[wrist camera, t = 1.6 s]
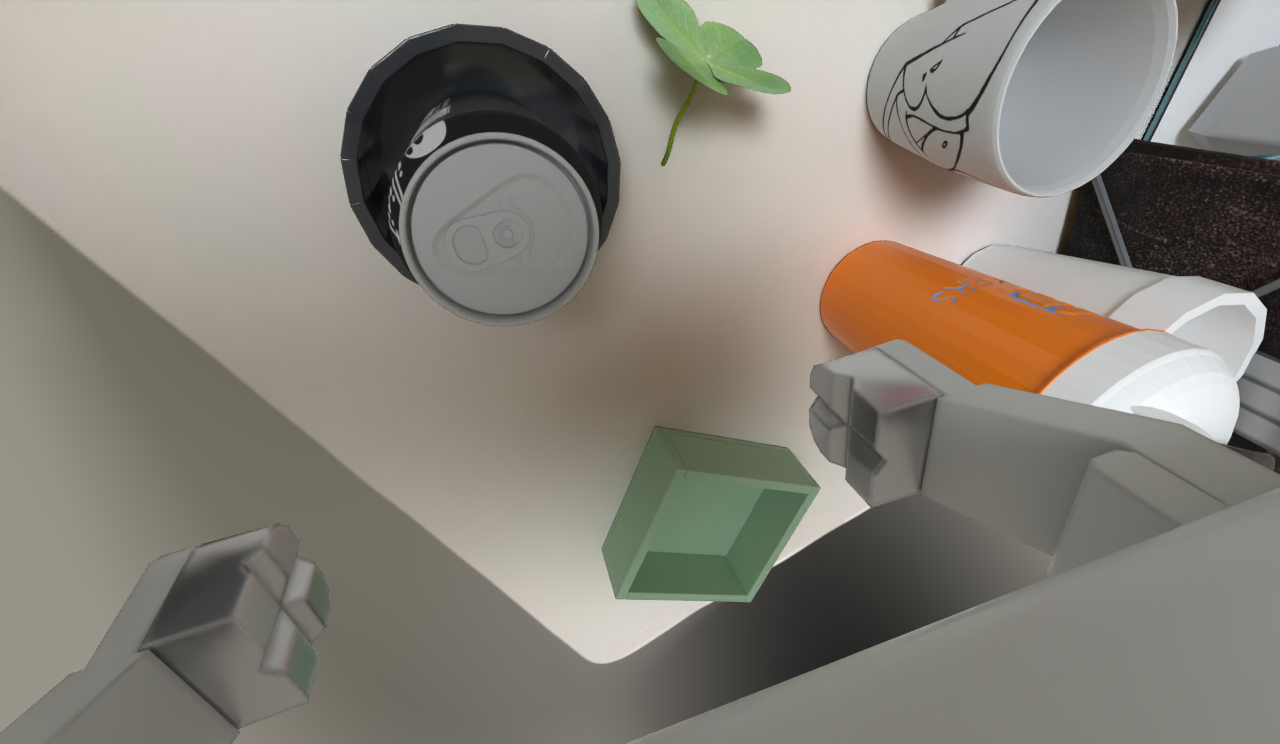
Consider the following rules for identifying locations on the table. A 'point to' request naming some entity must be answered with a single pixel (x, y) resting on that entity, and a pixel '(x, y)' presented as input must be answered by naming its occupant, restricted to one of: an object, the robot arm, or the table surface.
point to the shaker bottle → (1027, 340)
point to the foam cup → (1139, 298)
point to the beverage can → (494, 211)
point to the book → (1198, 245)
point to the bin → (705, 518)
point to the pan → (451, 67)
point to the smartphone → (1213, 63)
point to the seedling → (707, 53)
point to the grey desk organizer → (1245, 110)
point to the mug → (1024, 87)
